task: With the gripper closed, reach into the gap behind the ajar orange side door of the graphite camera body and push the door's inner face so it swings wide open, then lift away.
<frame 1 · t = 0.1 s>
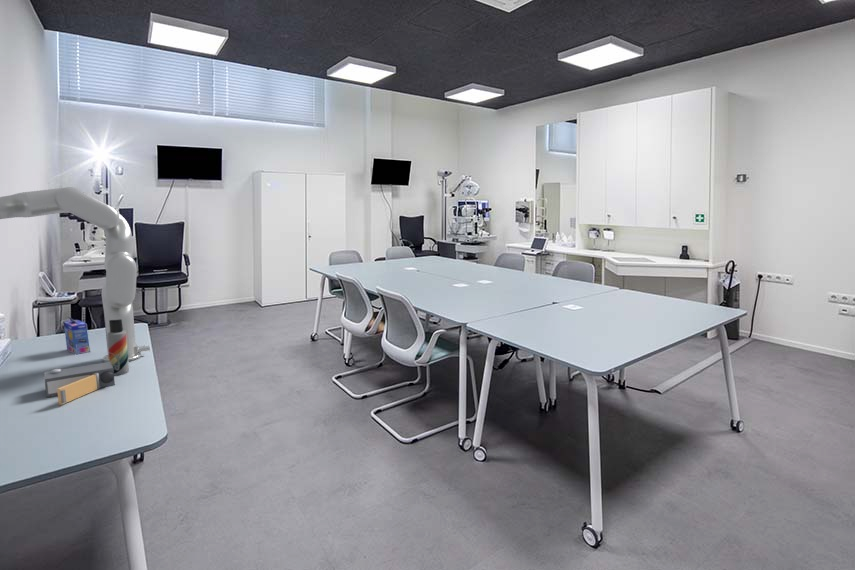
camera body: (81, 387, 156), on the table
lotion bottle: (120, 373, 170), on the table
ink cartridge box: (78, 351, 193), on the table
side door: (80, 388, 148), point 3 cm above the table, hinge at 40.0°
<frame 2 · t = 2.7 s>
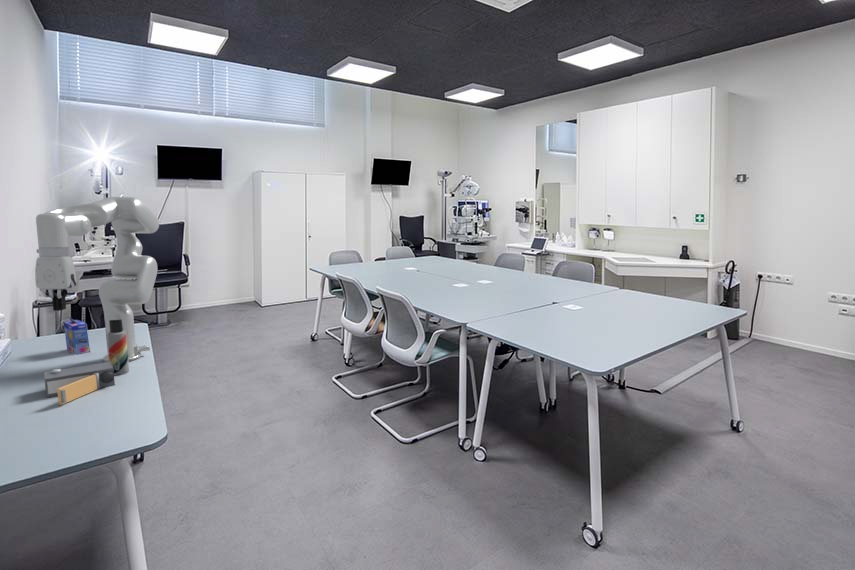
hand: (59, 309, 151), 27 cm above the table, tool pointing down, fingers closed
nothing on the table moved.
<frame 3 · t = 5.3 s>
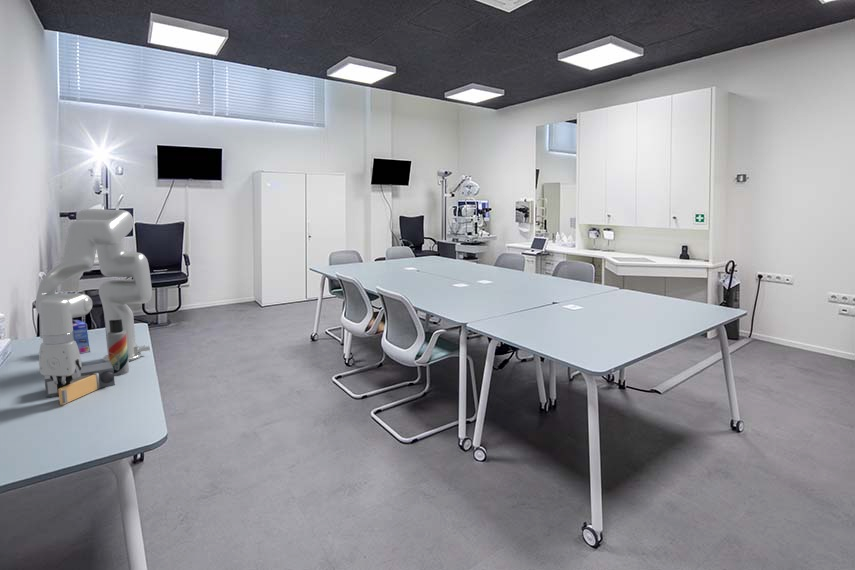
hand: (64, 394, 146), 1 cm above the table, tool pointing down, fingers closed
side door: (81, 388, 148), point 3 cm above the table, hinge at 41.9°, touching gripper
everything else where it was.
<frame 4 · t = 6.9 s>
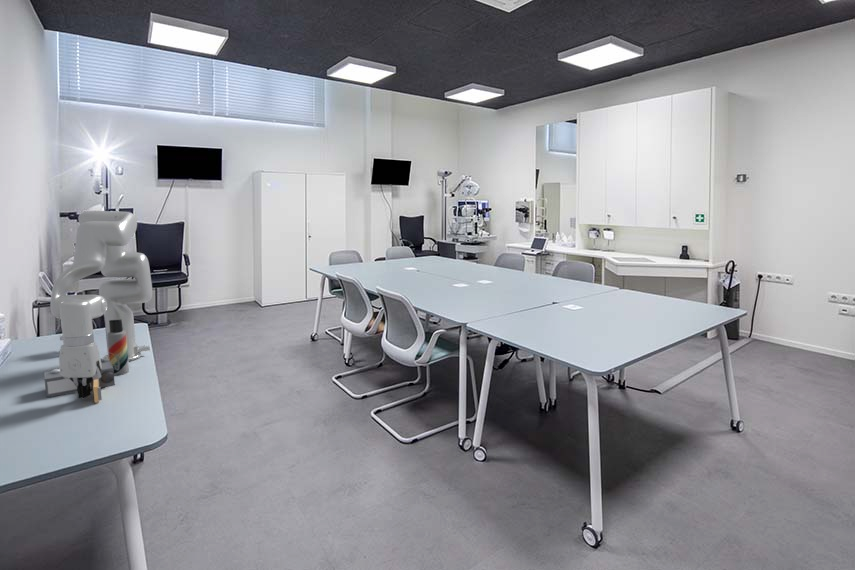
hand: (84, 396, 146), 1 cm above the table, tool pointing down, fingers closed
side door: (97, 387, 149), point 3 cm above the table, hinge at 84.5°, touching gripper
everything else where it was.
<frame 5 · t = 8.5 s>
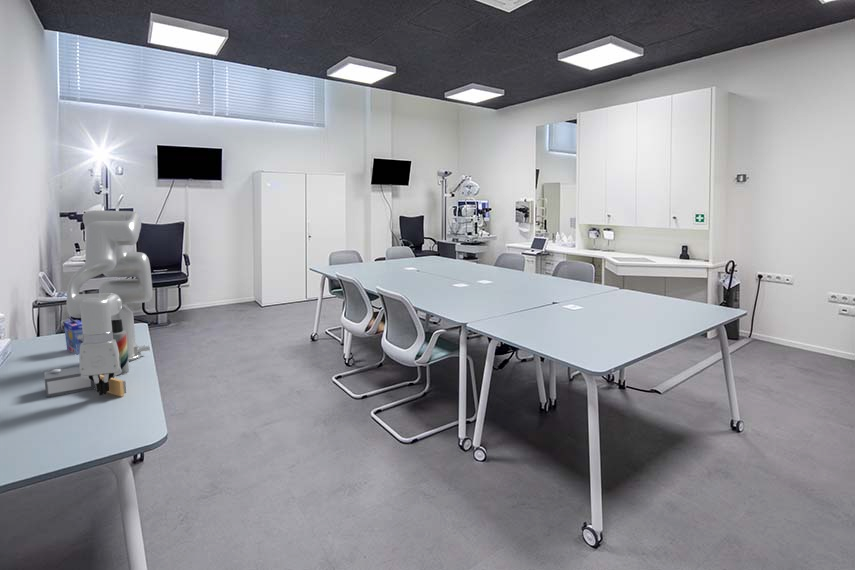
hand: (103, 393, 148), 1 cm above the table, tool pointing down, fingers closed
side door: (109, 384, 151), point 3 cm above the table, hinge at 115.7°
everything else where it was.
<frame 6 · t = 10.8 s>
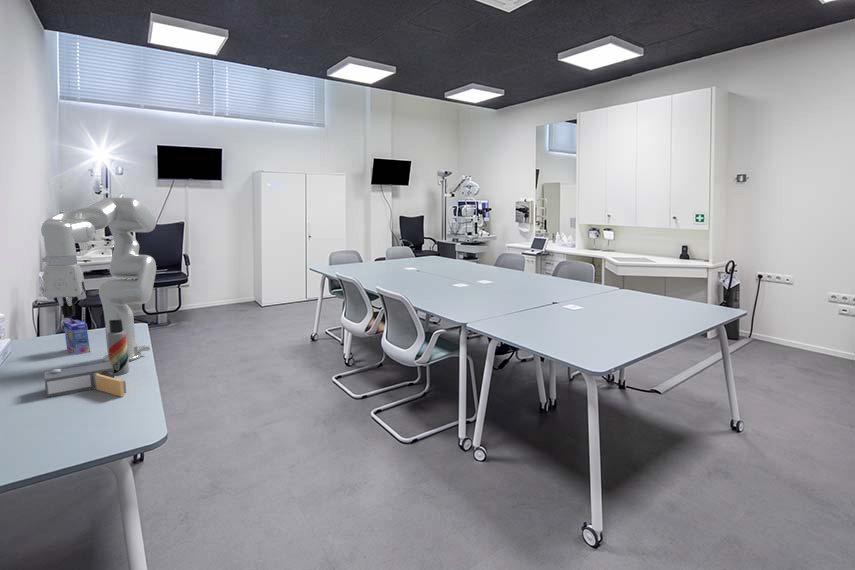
hand: (69, 316, 152), 24 cm above the table, tool pointing down, fingers closed
nothing on the table moved.
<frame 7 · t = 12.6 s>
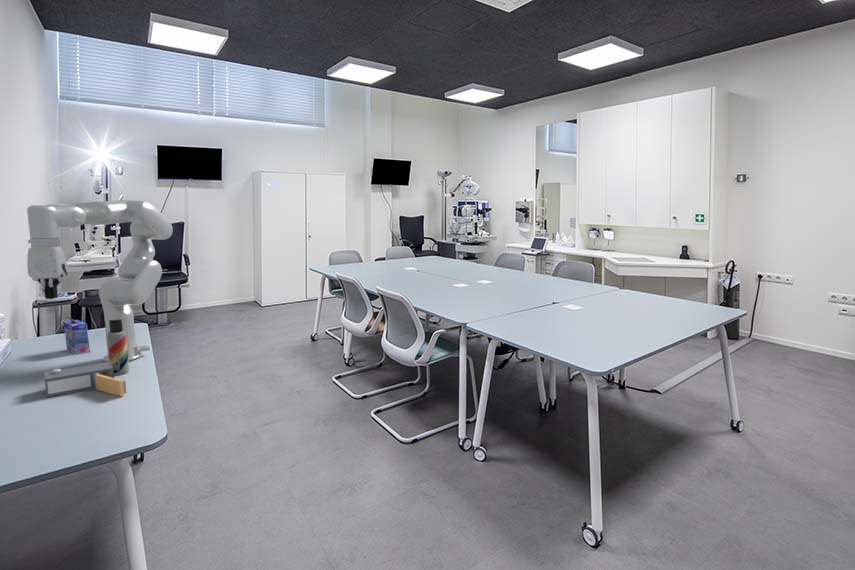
hand: (51, 298, 156), 29 cm above the table, tool pointing down, fingers closed
nothing on the table moved.
at the end: side door at +116° (first picture: +40°); side door touching nothing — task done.
